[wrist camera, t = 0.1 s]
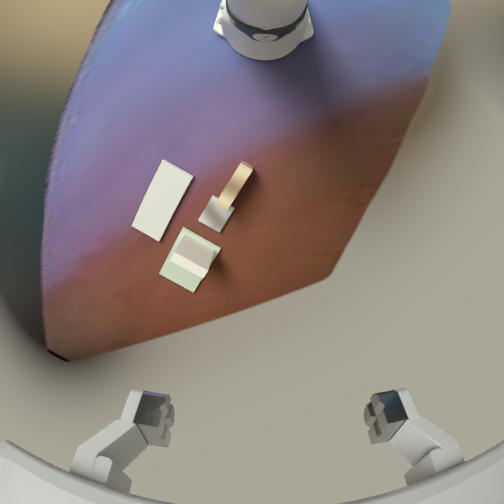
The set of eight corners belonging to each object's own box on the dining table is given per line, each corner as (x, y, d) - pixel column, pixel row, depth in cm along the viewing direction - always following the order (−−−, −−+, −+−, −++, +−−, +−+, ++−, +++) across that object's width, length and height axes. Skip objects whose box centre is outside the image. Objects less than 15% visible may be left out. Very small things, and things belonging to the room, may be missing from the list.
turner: (236, 156, 51) (234, 159, 47) (258, 170, 52) (259, 174, 48) (198, 219, 56) (194, 226, 52) (219, 231, 58) (217, 239, 54)
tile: (185, 233, 57) (174, 251, 49) (214, 249, 59) (208, 270, 51) (180, 242, 58) (169, 261, 50) (209, 258, 60) (202, 279, 51)
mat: (183, 226, 57) (183, 227, 57) (221, 247, 59) (220, 248, 59) (159, 272, 62) (159, 273, 61) (193, 291, 64) (193, 292, 63)
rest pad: (163, 159, 51) (162, 159, 51) (193, 176, 53) (193, 176, 52) (132, 225, 57) (131, 225, 56) (159, 240, 58) (159, 241, 58)
